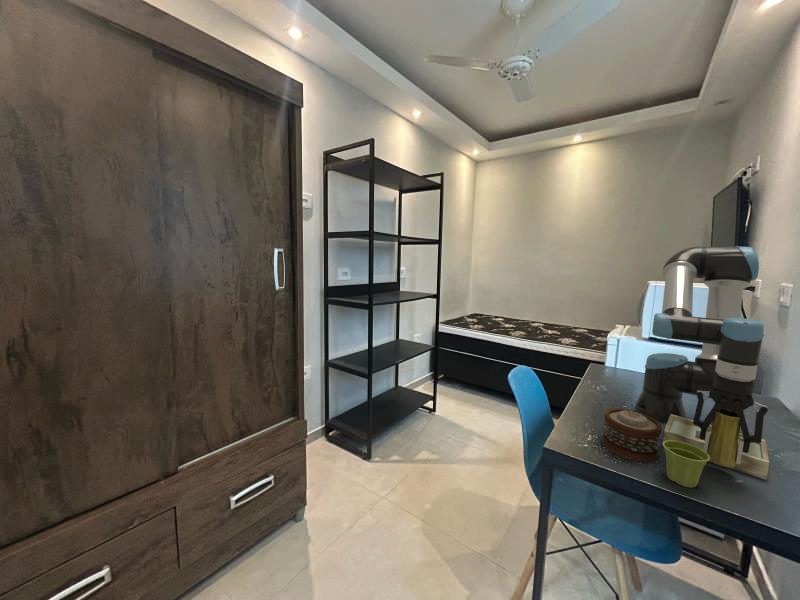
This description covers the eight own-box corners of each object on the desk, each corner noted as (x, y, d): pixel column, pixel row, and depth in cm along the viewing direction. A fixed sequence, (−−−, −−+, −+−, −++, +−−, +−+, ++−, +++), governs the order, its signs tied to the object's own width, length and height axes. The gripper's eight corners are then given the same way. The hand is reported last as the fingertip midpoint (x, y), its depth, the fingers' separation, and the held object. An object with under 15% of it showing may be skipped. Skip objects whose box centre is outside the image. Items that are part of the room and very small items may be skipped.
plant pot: (652, 465, 92) (656, 437, 91) (692, 472, 90) (697, 443, 89) (668, 488, 84) (673, 456, 82) (713, 496, 81) (719, 464, 80)
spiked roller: (664, 413, 101) (663, 433, 90) (660, 446, 102) (658, 469, 91) (608, 399, 110) (601, 415, 99) (605, 429, 112) (597, 448, 100)
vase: (714, 452, 94) (721, 405, 92) (741, 465, 88) (750, 416, 86) (700, 456, 92) (707, 409, 90) (727, 470, 86) (735, 420, 84)
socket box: (662, 445, 103) (664, 430, 102) (669, 427, 114) (670, 414, 113) (766, 480, 87) (769, 462, 87) (762, 455, 98) (765, 440, 98)
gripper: (686, 370, 90) (675, 447, 94) (790, 391, 77) (773, 479, 81) (688, 364, 96) (678, 437, 99) (787, 382, 82) (771, 465, 86)
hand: (721, 456), depth 90 cm, fingers closed on vase, 6 cm apart
